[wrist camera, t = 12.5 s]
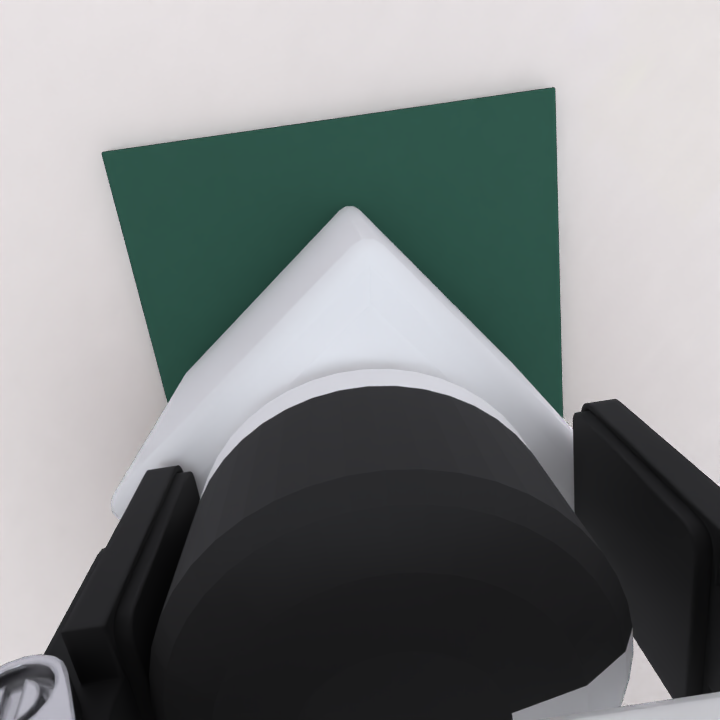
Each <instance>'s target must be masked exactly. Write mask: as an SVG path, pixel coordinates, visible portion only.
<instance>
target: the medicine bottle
mask: <svg viewBox="0 0 720 720" xmlns="http://www.w3.org/2000/svg"><path fill="white" fill-rule="evenodd" d="M177 465H179V466H180V467H181V468H182V470H183V472H189V471H191V472H192V473H193V475H194V478H195V481H196V485H197V489H198V492H199V496H200V501H199V504H198V507H197V510H196V513H195V516H194V519H193V522H192V524H191V527H190V530H189V533H188V536H187V539H186V542H185V545H184V548H183V551H182V554H181V557H180V560H179V563H178V566H177V568H176V571H175V574H174V577H173V580H172V583H171V586H170V589H169V592H168V595H167V598H166V601H165V604H164V607H163V610H162V612H161V615H160V618H159V622H158V625H157V629H156V632H155V636H154V639H153V643H152V646H151V656H150V666H149V684H150V695H151V703H152V707H153V710H154V714H155V717H156V720H539V719H546V718H552V717H558V716H565V715H571V714H578V713H584V712H591V711H597V710H604V709H610V708H617V707H621V704H622V701H623V698H624V694H625V691H626V688H627V685H628V681H629V677H630V671H631V664H632V658H633V626H632V621H631V616H630V611H629V606H628V601H627V599H626V596H625V594H624V591H623V589H622V586H621V584H620V581H619V579H618V576H617V575H616V573H615V571H614V570H613V568H612V567H611V565H610V564H609V562H608V560H607V559H606V557H605V556H604V554H603V552H602V551H601V550H600V548H599V547H598V545H597V544H596V542H595V541H594V540H593V538H592V537H591V535H590V534H589V533H588V531H587V530H586V528H585V527H584V525H583V524H582V523H581V521H580V520H579V518H578V517H577V516H576V514H575V511H574V456H573V429H572V428H571V427H570V426H569V425H568V424H567V423H566V422H565V421H564V419H563V418H562V417H561V416H560V415H559V414H558V413H557V412H556V411H555V410H554V408H553V407H552V406H551V405H550V404H549V403H548V402H547V401H546V400H545V399H544V397H543V396H542V395H541V394H540V393H539V392H538V391H537V390H536V389H535V388H534V386H533V385H532V384H531V383H530V382H529V381H528V380H527V379H526V378H525V377H524V375H523V374H522V373H521V372H520V371H519V370H518V369H517V368H516V367H515V366H514V365H513V363H512V362H511V361H510V360H509V359H508V358H507V357H506V356H505V355H504V354H503V353H502V352H501V351H500V350H499V349H498V348H497V347H496V346H495V345H494V344H493V343H492V342H491V341H490V340H489V339H488V338H487V337H486V336H485V335H484V334H483V333H482V332H481V331H480V330H479V329H478V328H477V327H476V326H475V325H474V324H473V323H472V322H471V321H470V320H469V319H468V318H467V317H466V316H465V315H464V314H463V313H462V312H461V311H460V310H459V309H458V308H457V307H456V306H455V305H454V304H453V303H452V302H451V301H450V300H449V299H448V298H447V297H446V296H445V295H444V294H443V293H442V292H441V291H440V290H439V289H438V288H437V287H436V286H435V285H434V284H433V283H432V282H431V281H430V280H429V279H428V278H427V277H426V276H425V275H424V274H423V273H422V272H421V271H420V270H419V269H418V268H417V267H416V266H415V265H414V264H413V263H412V262H411V261H410V260H409V259H408V258H407V257H406V256H405V255H404V254H403V253H402V252H401V251H400V250H399V249H398V248H397V247H396V246H395V245H394V244H393V243H392V242H391V241H390V240H389V239H388V238H387V237H386V236H385V235H384V234H383V233H382V232H381V231H380V230H379V229H378V228H377V227H376V226H375V225H374V224H373V223H372V222H371V221H370V220H369V219H368V218H367V217H366V216H365V215H364V214H363V213H362V212H361V211H360V210H359V209H357V208H356V207H354V206H346V207H344V208H342V209H341V210H339V211H338V212H337V214H336V215H335V216H334V217H333V218H332V219H331V220H330V221H329V222H328V223H327V224H326V225H325V226H324V227H323V228H322V229H321V231H320V232H319V233H318V234H317V235H316V236H315V237H314V238H313V239H312V240H311V241H310V242H309V243H308V244H307V245H306V246H305V247H304V249H303V250H302V251H301V252H300V253H299V254H298V255H297V256H296V257H295V258H294V259H293V260H292V261H291V262H290V263H289V264H288V266H287V267H286V268H285V269H284V270H283V271H282V272H281V273H280V274H279V275H278V276H277V277H276V278H275V279H274V280H273V281H272V282H271V284H270V285H269V286H268V287H267V288H266V289H265V290H264V291H263V292H262V293H261V294H260V295H259V296H258V297H257V298H256V299H255V301H254V302H253V303H252V304H251V305H250V306H249V307H248V308H247V309H246V310H245V311H244V312H243V313H242V314H241V315H240V316H239V317H238V319H237V320H236V321H235V322H234V323H233V324H232V325H231V326H230V327H229V328H228V329H227V330H226V331H225V332H224V333H223V334H222V336H221V337H220V338H219V339H218V340H217V341H216V342H215V343H214V344H213V345H212V346H211V347H210V348H209V349H208V350H207V351H206V352H205V354H204V355H203V356H202V357H201V358H200V359H199V360H198V361H197V362H196V363H195V364H194V365H193V366H192V367H191V368H190V369H189V371H188V372H187V373H186V374H185V376H184V377H183V379H182V381H181V382H180V384H179V386H178V387H177V389H176V391H175V392H174V394H173V396H172V397H171V399H170V401H169V402H168V404H167V406H166V407H165V409H164V411H163V412H162V414H161V416H160V417H159V419H158V421H157V422H156V424H155V426H154V427H153V429H152V431H151V432H150V434H149V436H148V437H147V439H146V441H145V442H144V444H143V446H142V447H141V449H140V451H139V452H138V454H137V456H136V457H135V459H134V461H133V462H132V464H131V466H130V468H129V469H128V471H127V473H126V474H125V476H124V478H123V479H122V481H121V483H120V484H119V486H118V488H117V489H116V491H115V493H114V495H113V497H112V500H111V507H112V512H113V514H114V515H115V516H116V517H117V518H118V519H119V520H121V518H122V516H123V514H124V512H125V510H126V508H127V507H128V505H129V503H130V501H131V499H132V497H133V495H134V493H135V491H136V490H137V488H138V486H139V484H140V482H141V480H142V478H143V476H144V474H145V473H146V471H147V470H151V469H157V468H164V467H171V466H177Z"/></svg>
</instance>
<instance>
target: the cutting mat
mask: <svg viewBox="0 0 720 720" xmlns="http://www.w3.org/2000/svg"><path fill="white" fill-rule="evenodd" d="M102 157H103V161H104V165H105V169H106V172H107V176H108V180H109V184H110V187H111V191H112V195H113V199H114V203H115V206H116V210H117V214H118V218H119V221H120V225H121V229H122V233H123V236H124V240H125V244H126V248H127V252H128V255H129V259H130V263H131V267H132V270H133V274H134V278H135V282H136V285H137V289H138V293H139V297H140V301H141V304H142V308H143V312H144V316H145V319H146V323H147V327H148V331H149V334H150V338H151V342H152V346H153V349H154V353H155V357H156V361H157V365H158V368H159V372H160V376H161V380H162V383H163V387H164V391H165V395H166V398H167V402H169V401H170V399H171V397H172V396H173V394H174V392H175V391H176V389H177V387H178V386H179V384H180V382H181V381H182V379H183V377H184V376H185V374H186V373H187V372H188V371H189V369H190V368H191V367H192V366H193V365H194V364H195V363H196V362H197V361H198V360H199V359H200V358H201V357H202V356H203V355H204V354H205V352H206V351H207V350H208V349H209V348H210V347H211V346H212V345H213V344H214V343H215V342H216V341H217V340H218V339H219V338H220V337H221V336H222V334H223V333H224V332H225V331H226V330H227V329H228V328H229V327H230V326H231V325H232V324H233V323H234V322H235V321H236V320H237V319H238V317H239V316H240V315H241V314H242V313H243V312H244V311H245V310H246V309H247V308H248V307H249V306H250V305H251V304H252V303H253V302H254V301H255V299H256V298H257V297H258V296H259V295H260V294H261V293H262V292H263V291H264V290H265V289H266V288H267V287H268V286H269V285H270V284H271V282H272V281H273V280H274V279H275V278H276V277H277V276H278V275H279V274H280V273H281V272H282V271H283V270H284V269H285V268H286V267H287V266H288V264H289V263H290V262H291V261H292V260H293V259H294V258H295V257H296V256H297V255H298V254H299V253H300V252H301V251H302V250H303V249H304V247H305V246H306V245H307V244H308V243H309V242H310V241H311V240H312V239H313V238H314V237H315V236H316V235H317V234H318V233H319V232H320V231H321V229H322V228H323V227H324V226H325V225H326V224H327V223H328V222H329V221H330V220H331V219H332V218H333V217H334V216H335V215H336V214H337V212H338V211H339V210H341V209H342V208H344V207H346V206H354V207H356V208H357V209H359V210H360V211H361V212H362V213H363V214H364V215H365V216H366V217H367V218H368V219H369V220H370V221H371V222H372V223H373V224H374V225H375V226H376V227H377V228H378V229H379V230H380V231H381V232H382V233H383V234H384V235H385V236H386V237H387V238H388V239H389V240H390V241H391V242H392V243H393V244H394V245H395V246H396V247H397V248H398V249H399V250H400V251H401V252H402V253H403V254H404V255H405V256H406V257H407V258H408V259H409V260H410V261H411V262H412V263H413V264H414V265H415V266H416V267H417V268H418V269H419V270H420V271H421V272H422V273H423V274H424V275H425V276H426V277H427V278H428V279H429V280H430V281H431V282H432V283H433V284H434V285H435V286H436V287H437V288H438V289H439V290H440V291H441V292H442V293H443V294H444V295H445V296H446V297H447V298H448V299H449V300H450V301H451V302H452V303H453V304H454V305H455V306H456V307H457V308H458V309H459V310H460V311H461V312H462V313H463V314H464V315H465V316H466V317H467V318H468V319H469V320H470V321H471V322H472V323H473V324H474V325H475V326H476V327H477V328H478V329H479V330H480V331H481V332H482V333H483V334H484V335H485V336H486V337H487V338H488V339H489V340H490V341H491V342H492V343H493V344H494V345H495V346H496V347H497V348H498V349H499V350H500V351H501V352H502V353H503V354H504V355H505V356H506V357H507V358H508V359H509V360H510V361H511V362H512V363H513V365H514V366H515V367H516V368H517V369H518V370H519V371H520V372H521V373H522V374H523V375H524V377H525V378H526V379H527V380H528V381H529V382H530V383H531V384H532V385H533V386H534V388H535V389H536V390H537V391H538V392H539V393H540V394H541V395H542V396H543V397H544V399H545V400H546V401H547V402H548V403H549V404H550V405H551V406H552V407H553V408H554V410H555V411H556V412H557V413H558V414H559V415H560V416H561V417H562V418H563V398H562V356H561V313H560V271H559V228H558V186H557V144H556V101H555V88H554V87H552V88H545V89H538V90H531V91H524V92H517V93H510V94H503V95H496V96H490V97H483V98H476V99H469V100H462V101H455V102H448V103H441V104H434V105H427V106H420V107H413V108H406V109H399V110H392V111H385V112H378V113H371V114H364V115H357V116H350V117H343V118H336V119H329V120H322V121H315V122H308V123H301V124H294V125H287V126H280V127H273V128H266V129H259V130H252V131H245V132H238V133H231V134H224V135H217V136H210V137H203V138H196V139H189V140H182V141H175V142H168V143H161V144H155V145H148V146H141V147H134V148H127V149H120V150H113V151H106V152H102Z"/></svg>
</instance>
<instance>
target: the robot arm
mask: <svg viewBox="0 0 720 720" xmlns="http://www.w3.org/2000/svg"><path fill="white" fill-rule="evenodd" d="M573 456H574V511H575V514H576V516H577V517H578V518H579V520H580V521H581V523H582V524H583V525H584V527H585V528H586V530H587V531H588V533H589V534H590V535H591V537H592V538H593V540H594V541H595V542H596V544H597V545H598V547H599V548H600V550H601V551H602V552H603V554H604V556H605V557H606V559H607V560H608V562H609V564H610V565H611V567H612V568H613V570H614V571H615V573H616V575H617V576H618V579H619V581H620V584H621V586H622V589H623V591H624V594H625V596H626V599H627V601H628V606H629V611H630V616H631V621H632V626H633V637H634V639H635V640H636V642H637V643H638V645H639V646H640V648H641V650H642V651H643V653H644V654H645V656H646V657H647V659H648V661H649V662H650V664H651V665H652V667H653V668H654V670H655V672H656V673H657V675H658V676H659V678H660V679H661V681H662V683H663V684H664V686H665V687H666V689H667V690H668V692H669V694H670V695H671V697H672V698H673V699H669V700H663V701H656V702H650V703H643V704H637V705H630V706H623V707H617V708H610V709H604V710H597V711H591V712H584V713H578V714H571V715H565V716H558V717H552V718H546V719H539V720H720V487H719V486H718V485H717V484H716V483H714V482H713V481H712V480H711V479H710V478H709V477H707V476H706V475H705V474H704V473H703V472H702V471H700V470H699V469H698V468H697V467H696V466H695V465H693V464H692V463H691V462H690V461H689V460H688V459H686V458H685V457H684V456H683V455H682V454H681V453H679V452H678V451H677V450H676V449H675V448H673V447H672V446H671V445H670V444H669V443H668V442H666V441H665V440H664V439H663V438H662V437H661V436H659V435H658V434H657V433H656V432H655V431H654V430H652V429H651V428H650V427H649V426H648V425H647V424H645V423H644V422H643V421H642V420H641V419H640V418H638V417H637V416H636V415H635V414H634V413H633V412H631V411H630V410H629V409H628V408H627V407H626V406H624V405H623V404H622V403H621V402H620V401H618V400H617V399H612V400H605V401H599V402H592V403H585V404H584V405H583V407H582V410H581V412H577V413H575V414H574V416H573ZM199 501H200V496H199V492H198V489H197V485H196V481H195V478H194V475H193V473H192V472H191V471H189V472H183V470H182V468H181V467H180V466H179V465H177V466H171V467H164V468H157V469H151V470H147V471H146V473H145V474H144V476H143V478H142V480H141V482H140V484H139V486H138V488H137V490H136V491H135V493H134V495H133V497H132V499H131V501H130V503H129V505H128V507H127V508H126V510H125V512H124V514H123V516H122V518H121V520H120V522H119V524H118V525H117V527H116V529H115V531H114V533H113V535H112V537H111V539H110V540H109V542H108V544H107V546H106V548H104V549H102V550H101V551H100V552H99V554H98V555H97V557H96V559H95V561H94V562H93V564H92V566H91V568H90V570H89V572H88V574H87V575H86V577H85V579H84V581H83V583H82V585H81V587H80V588H79V590H78V592H77V594H76V596H75V598H74V599H73V601H72V603H71V605H70V607H69V609H68V611H67V612H66V614H65V616H64V618H63V620H62V622H61V624H60V625H59V627H58V629H57V631H56V633H55V635H54V637H53V638H52V640H51V642H50V644H49V646H48V648H47V649H46V651H45V653H44V655H42V654H39V655H33V656H26V657H22V658H20V659H17V660H14V661H11V662H8V663H6V664H4V665H2V666H0V720H156V717H155V714H154V710H153V707H152V703H151V695H150V684H149V666H150V656H151V646H152V643H153V639H154V636H155V632H156V629H157V625H158V622H159V618H160V615H161V612H162V610H163V607H164V604H165V601H166V598H167V595H168V592H169V589H170V586H171V583H172V580H173V577H174V574H175V571H176V568H177V566H178V563H179V560H180V557H181V554H182V551H183V548H184V545H185V542H186V539H187V536H188V533H189V530H190V527H191V524H192V522H193V519H194V516H195V513H196V510H197V507H198V504H199Z"/></svg>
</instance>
